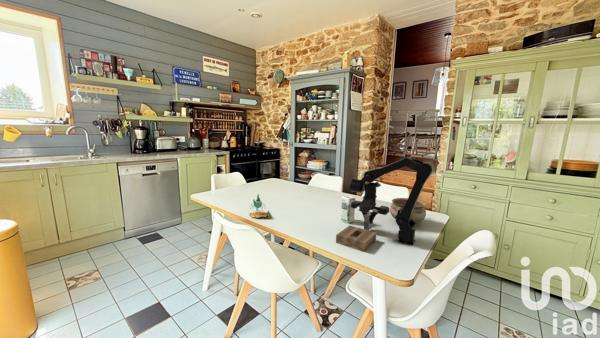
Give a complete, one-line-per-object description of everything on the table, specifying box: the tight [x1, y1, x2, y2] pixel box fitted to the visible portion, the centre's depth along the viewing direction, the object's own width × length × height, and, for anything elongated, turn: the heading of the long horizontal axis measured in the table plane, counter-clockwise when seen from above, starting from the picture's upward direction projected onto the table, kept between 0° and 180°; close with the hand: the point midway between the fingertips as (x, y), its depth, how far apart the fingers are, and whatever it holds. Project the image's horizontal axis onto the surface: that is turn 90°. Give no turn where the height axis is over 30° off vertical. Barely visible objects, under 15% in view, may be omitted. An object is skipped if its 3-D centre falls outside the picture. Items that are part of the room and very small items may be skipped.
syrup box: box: [340, 195, 356, 224], centre depth 138 cm, size 6×6×14 cm
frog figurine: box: [248, 194, 273, 219], centre depth 145 cm, size 10×18×15 cm, turn 53°
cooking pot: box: [389, 197, 427, 224], centre depth 137 cm, size 25×19×12 cm
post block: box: [335, 225, 377, 253], centre depth 114 cm, size 14×14×4 cm
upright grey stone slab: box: [363, 211, 374, 231], centre depth 125 cm, size 2×6×8 cm, turn 142°
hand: (368, 222), depth 125 cm, fingers closed on upright grey stone slab, 2 cm apart
